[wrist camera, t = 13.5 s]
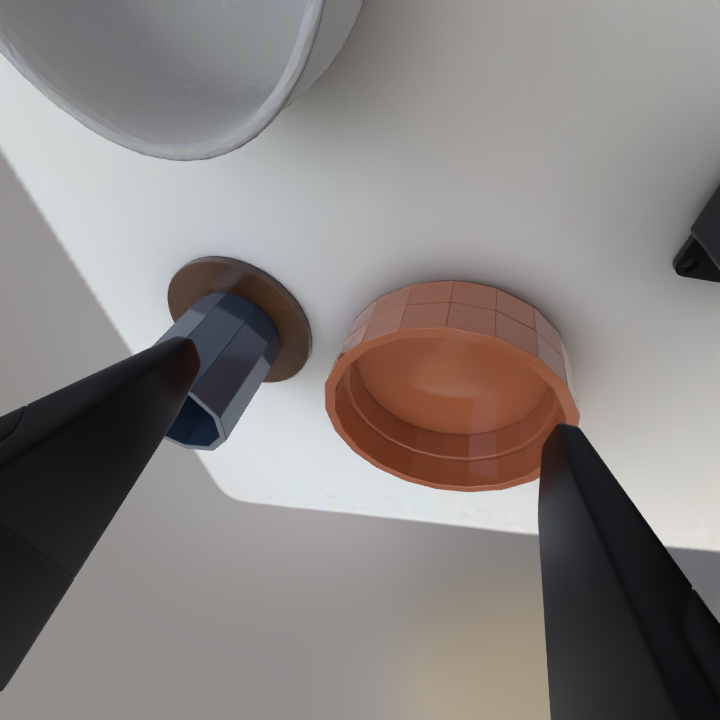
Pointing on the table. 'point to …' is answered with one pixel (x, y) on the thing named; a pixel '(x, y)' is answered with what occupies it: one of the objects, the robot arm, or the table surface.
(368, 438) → the bowl
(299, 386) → the table surface
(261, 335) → the cup
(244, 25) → the teacup
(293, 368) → the coaster
